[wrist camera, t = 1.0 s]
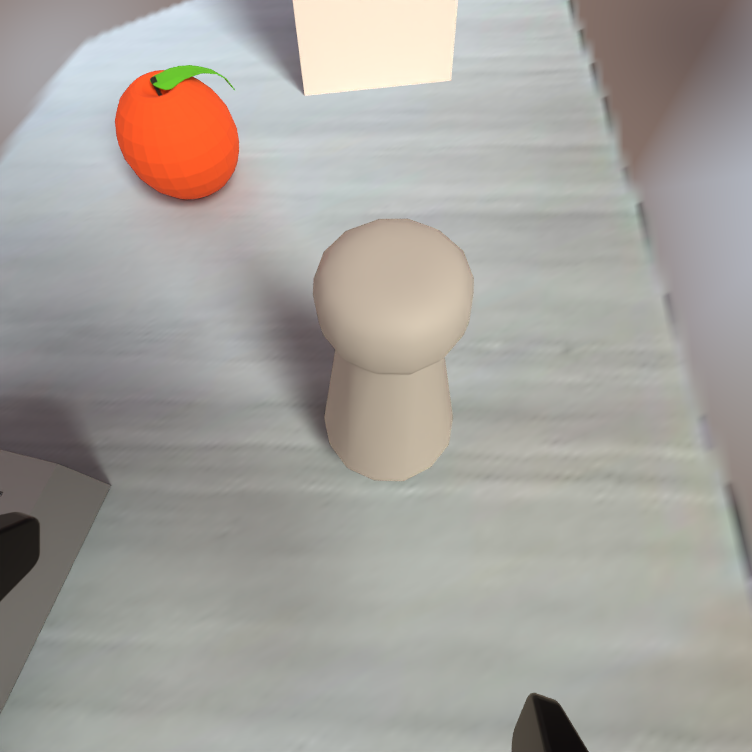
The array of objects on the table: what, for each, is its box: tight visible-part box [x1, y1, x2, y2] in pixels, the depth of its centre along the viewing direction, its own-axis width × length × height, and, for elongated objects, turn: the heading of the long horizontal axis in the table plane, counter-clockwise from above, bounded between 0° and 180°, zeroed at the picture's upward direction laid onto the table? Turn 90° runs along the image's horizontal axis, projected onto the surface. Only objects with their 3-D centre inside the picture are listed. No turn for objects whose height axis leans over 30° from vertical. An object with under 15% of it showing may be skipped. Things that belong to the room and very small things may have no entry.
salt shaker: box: [313, 219, 474, 481], centre depth 17 cm, size 6×6×13 cm
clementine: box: [115, 65, 239, 199], centre depth 28 cm, size 8×7×7 cm
